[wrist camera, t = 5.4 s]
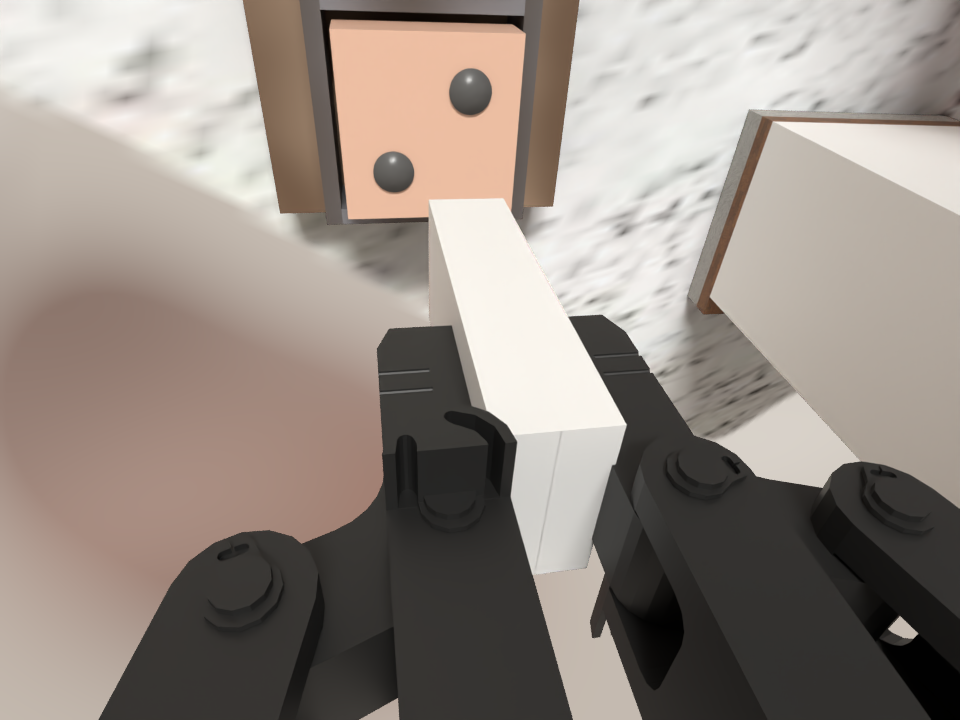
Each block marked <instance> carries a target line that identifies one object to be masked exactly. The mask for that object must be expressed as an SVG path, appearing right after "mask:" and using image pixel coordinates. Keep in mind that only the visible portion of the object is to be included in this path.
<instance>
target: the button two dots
mask: <svg viewBox="0 0 960 720" xmlns="http://www.w3.org/2000/svg"><path fill="white" fill-rule="evenodd" d="M329 31H330V41H331V51H332V61H333V71H334V81H335V91H336V101H337V111H338V121H339V131H340V141H341V151H342V161H343V171H344V181H345V191H346V201H347V211H348V219H378V218H414V217H429V200H435V199H490V198H504V200H505V202H506V204H507V206H508V207H509V209H510V211H511V208H512V196H513V183H514V171H515V159H516V147H517V135H518V123H519V110H520V98H521V86H522V74H523V62H524V50H525V38H526V34H525V33H524V32H523V31H521V30H520V29H518V28H517V27H516V26H514V25H513V24H492V23H455V22H418V21H381V20H344V19H331V23H330V28H329Z"/></svg>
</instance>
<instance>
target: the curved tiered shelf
mask: <svg viewBox="0 0 960 720" xmlns="http://www.w3.org/2000/svg"><path fill="white" fill-rule="evenodd" d="M688 297H689V298H690V299H691V301H692V302H693V303H694V304H695V305H696V306H697V308H698V309H699V310H700V311H701V312H702V313H703V314H726V315H727V316H728V317H729V319H730V320H731V321H732V322H733V323H734V324H735V325H736V326H737V327H738V328H739V329H740V330H741V332H742V333H743V334H744V335H745V336H746V337H747V338H748V339H749V340H750V341H751V342H752V344H753V345H754V346H755V347H756V348H757V349H758V350H759V351H760V352H761V353H762V354H763V355H764V357H765V358H766V359H767V360H768V361H769V362H770V363H771V364H772V365H773V366H774V367H775V368H776V370H777V371H778V372H779V373H780V374H781V375H782V376H783V377H784V378H785V379H786V380H787V382H788V383H789V384H790V385H791V386H792V387H793V388H794V389H795V390H796V391H797V392H798V393H799V395H800V396H801V397H802V398H803V399H804V400H805V401H806V402H807V403H808V404H809V405H810V407H811V408H812V409H813V410H814V411H815V412H816V413H817V414H818V415H819V416H820V417H821V418H822V420H823V421H824V422H825V423H826V424H827V425H828V426H829V427H830V428H831V429H832V430H833V431H834V433H835V434H836V435H837V436H838V437H839V438H840V439H841V440H842V441H843V442H844V443H845V445H846V446H847V447H848V448H849V449H850V450H851V451H852V452H853V453H854V454H855V455H856V457H857V458H858V459H859V460H860V461H863V462H869V463H876V464H882V465H886V466H889V467H892V468H894V469H897V470H900V471H902V472H905V473H907V474H910V475H912V476H913V477H915V478H916V479H918V480H920V481H921V482H923V483H925V484H926V485H928V486H929V487H931V488H933V489H934V490H936V491H937V492H938V493H939V494H941V495H942V496H943V497H945V498H946V499H947V500H949V501H950V502H951V503H953V504H954V505H955V506H957V507H958V508H959V509H960V121H959V120H956V119H953V118H950V117H947V116H941V115H908V114H876V113H843V112H810V111H778V110H749V112H748V115H747V118H746V121H745V124H744V127H743V130H742V133H741V136H740V139H739V142H738V145H737V148H736V151H735V154H734V157H733V160H732V163H731V166H730V169H729V172H728V175H727V178H726V181H725V184H724V187H723V190H722V193H721V196H720V199H719V202H718V205H717V208H716V211H715V214H714V217H713V220H712V223H711V227H710V230H709V233H708V236H707V239H706V242H705V245H704V248H703V251H702V254H701V257H700V260H699V263H698V266H697V269H696V272H695V275H694V278H693V281H692V284H691V287H690V290H689V293H688Z"/></svg>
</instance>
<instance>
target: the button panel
mask: <svg viewBox="0 0 960 720" xmlns="http://www.w3.org/2000/svg"><path fill="white" fill-rule="evenodd" d="M243 4H244V9H245V15H246V21H247V26H248V32H249V38H250V43H251V49H252V55H253V61H254V66H255V72H256V78H257V83H258V89H259V95H260V101H261V106H262V112H263V118H264V123H265V129H266V135H267V140H268V146H269V152H270V158H271V163H272V169H273V175H274V180H275V186H276V192H277V198H278V203H279V209H280V213H317V212H326V219H327V225H333V224H367V223H401V222H429V217H414V218H378V219H348V211H347V201H346V191H345V181H344V171H343V161H342V151H341V141H340V131H339V121H338V111H337V101H336V91H335V81H334V71H333V61H332V51H331V41H330V31H329V28H330V23H331V19H344V20H381V21H418V22H455V23H492V24H513V25H514V26H516V27H517V28H518V29H520V30H521V31H523V32H524V33H525V34H526V38H525V50H524V62H523V74H522V86H521V98H520V110H519V123H518V135H517V147H516V159H515V171H514V183H513V196H512V208H511V213H512V215H513V217H514V218H515V219H522V218H523V207H550V206H553V202H554V194H555V186H556V179H557V171H558V163H559V155H560V147H561V139H562V132H563V124H564V116H565V108H566V100H567V93H568V85H569V77H570V69H571V61H572V54H573V46H574V38H575V30H576V22H577V15H578V7H579V0H243Z"/></svg>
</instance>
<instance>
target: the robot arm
mask: <svg viewBox="0 0 960 720" xmlns="http://www.w3.org/2000/svg"><path fill="white" fill-rule="evenodd" d="M429 320H430V325H431V326H430V327H412V328H394V329H389V330H388V332H387V333H386V335H385V337H384V338H383V340H382V342H381V343H380V345H379V346H378V348H377V358H378V375H379V391H380V408H381V424H382V440H383V453H382V459H383V472H384V478H383V484H382V486H381V488H380V491H379V493H378V495H377V497H376V499H375V500H374V501H373V502H372V504H371V505H370V506H369V507H368V509H367V510H366V511H364V512H363V513H362V514H361V515H360V516H359V517H357V518H356V519H355V520H353V521H352V522H350V523H348V524H346V525H344V526H342V527H340V528H339V529H337V530H335V531H332V532H330V533H327V534H325V535H322V536H320V537H318V538H315V539H312V540H310V541H308V542H305V543H303V544H301V543H300V542H298V541H297V540H296V539H295V538H294V537H292V536H288V535H285V534H281V533H277V532H274V531H270V530H267V531H253V532H242V533H239V534H236V535H234V536H231V537H228V538H226V539H223V540H221V541H218V542H216V543H214V544H212V545H211V546H209V547H208V548H207V549H205V550H204V551H202V552H201V553H200V554H198V555H197V556H196V557H194V558H193V559H192V560H190V561H189V562H188V563H187V565H186V566H185V567H184V569H183V570H182V571H181V573H180V574H179V575H178V577H177V578H176V579H175V580H174V582H173V583H172V584H171V586H170V588H169V589H168V591H167V593H166V595H165V597H164V599H163V601H162V602H161V604H160V606H159V608H158V610H157V612H156V614H155V615H154V617H153V619H152V621H151V623H150V625H149V627H148V628H147V631H146V632H145V634H144V636H143V638H142V640H141V642H140V644H139V645H138V647H137V649H136V651H135V653H134V655H133V656H132V659H131V660H130V662H129V664H128V666H127V668H126V669H125V671H124V673H123V675H122V677H121V679H120V681H119V683H118V684H117V686H116V688H115V690H114V692H113V694H112V695H111V697H110V699H109V701H108V703H107V705H106V707H105V709H104V710H103V712H102V714H101V716H100V718H99V720H359V719H361V718H363V717H364V716H366V715H368V714H370V713H371V712H373V711H375V710H377V709H379V708H381V707H382V706H384V705H386V704H388V703H390V702H391V701H393V700H395V699H397V698H398V703H399V719H400V720H573V719H572V715H571V711H570V707H569V704H568V700H567V697H566V693H565V689H564V686H563V682H562V679H561V675H560V672H559V669H558V664H557V661H556V657H555V654H554V650H553V647H552V643H551V639H550V636H549V632H548V629H547V625H546V621H545V618H544V614H543V611H542V607H541V604H540V600H539V596H538V593H537V589H536V586H535V582H534V579H533V575H537V574H545V573H552V572H560V571H568V570H574V569H582V568H587V564H588V561H589V557H590V554H591V550H592V547H593V543H594V546H595V548H596V551H597V553H598V556H599V559H600V561H601V564H602V566H603V569H604V571H605V575H604V578H603V581H602V584H601V588H600V591H599V594H598V597H597V600H596V603H595V607H594V610H593V613H592V616H591V620H590V625H591V632H592V638H596V637H600V635H601V633H602V630H603V627H604V624H605V621H606V620H607V622H608V625H609V628H610V631H611V635H612V637H613V639H614V642H615V645H616V648H617V650H618V653H619V656H620V659H621V662H622V664H623V667H624V670H625V673H626V675H627V678H628V681H629V683H630V686H631V689H632V692H633V695H634V698H635V700H636V703H637V706H638V709H639V711H640V714H641V717H642V720H960V509H959V508H958V507H957V506H955V505H954V504H953V503H951V502H950V501H949V500H947V499H946V498H945V497H943V496H942V495H941V494H939V493H938V492H937V491H936V490H934V489H933V488H931V487H929V486H928V485H926V484H925V483H923V482H921V481H920V480H918V479H916V478H915V477H913V476H912V475H910V474H907V473H905V472H902V471H900V470H897V469H894V468H892V467H889V466H886V465H882V464H876V463H869V462H863V461H861V462H854V463H848V464H843V465H842V466H841V467H839V468H838V469H837V470H835V471H834V472H833V473H832V474H831V476H830V477H829V479H828V481H827V482H826V484H825V485H824V487H823V488H819V487H813V486H807V485H801V484H794V483H788V482H781V481H776V480H769V479H765V478H761V477H756V476H755V474H754V473H753V472H752V470H751V469H750V468H749V467H748V466H747V465H746V464H745V463H744V462H743V461H742V460H741V459H740V458H739V457H738V456H737V455H736V454H734V453H733V452H731V451H729V450H728V449H726V448H724V447H723V446H720V445H719V444H718V443H716V442H712V441H709V440H706V439H703V438H700V437H696V436H694V435H693V433H692V432H691V430H690V429H689V427H688V426H687V424H686V423H685V421H684V420H683V418H682V417H681V415H680V414H679V412H678V411H677V409H676V408H675V406H674V405H673V403H672V402H671V400H670V399H669V397H668V396H667V394H666V393H665V391H664V390H663V388H662V387H661V385H660V383H659V382H658V380H657V379H656V377H655V376H654V374H653V373H650V371H649V370H650V368H649V367H648V365H647V364H646V362H645V361H644V359H643V358H642V356H639V355H638V350H637V349H636V347H635V346H634V344H633V343H632V341H631V340H630V338H629V337H628V335H627V334H626V332H625V331H624V330H622V329H621V328H620V327H618V326H617V325H615V324H614V323H613V322H611V321H610V320H608V319H607V318H606V317H604V316H603V315H590V316H571V317H568V316H567V314H566V312H565V311H564V309H563V307H562V305H561V303H560V301H559V299H558V298H557V296H556V294H555V292H554V290H553V288H552V287H551V285H550V283H549V281H548V279H547V277H546V276H545V274H544V272H543V270H542V268H541V266H540V264H539V263H538V261H537V259H536V257H535V255H534V253H533V252H532V250H531V248H530V246H529V244H528V242H527V241H526V239H525V237H524V235H523V233H522V231H521V230H520V228H519V226H518V224H517V222H516V220H515V218H514V217H513V215H512V213H511V211H510V209H509V207H508V206H507V204H506V202H505V200H504V198H490V199H435V200H429ZM899 616H901V617H902V618H903V619H904V620H905V621H906V622H907V623H908V624H909V625H910V626H911V627H912V628H913V629H914V630H915V631H917V632H918V633H919V634H918V635H917V636H916V637H915V638H914V639H908V638H902V637H900V636H898V635H896V634H894V633H892V632H891V631H889V630H888V628H889V627H890V626H891V625H892V624H893V623H894V622H895V621H896V620H897V619H898V618H899Z"/></svg>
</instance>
